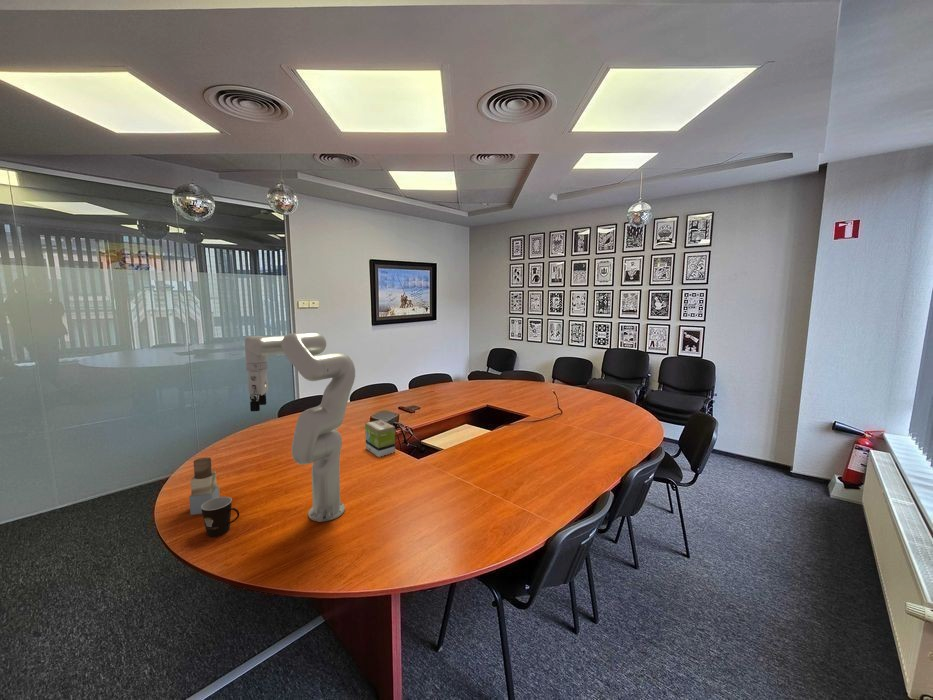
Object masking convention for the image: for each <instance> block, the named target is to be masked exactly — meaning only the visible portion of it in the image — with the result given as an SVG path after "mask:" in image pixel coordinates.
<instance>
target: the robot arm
mask: <svg viewBox="0 0 933 700" xmlns="http://www.w3.org/2000/svg"><path fill="white" fill-rule="evenodd" d="M326 347H327V340H326V338H325V337H324V336H323V335H322V334H320V333H318V332H311V331H310V332H295V333H287V334H285V335H270V336H269V335H268V336H263V335H248V336H246V337H245V338H244V353H245V354H244V355H245V371H246V372H248V375H247V376H248V379H247V380H248V383H247V385H248V395H249V404H250V405H249V406H250V407H249V409H250V412H260V411H261V406H265V405H267V392H268V391H269V384H268V382H269V381H268V374H267V370H268V357H269V356H274V355H275V356H276V355H285V357H286V358H287V360H288V361H289V362H290V363H291V365H292V366H293V367H294V368H295V369H296V371H298V373H299V374H300V375H301V376H302V378H303V379H305V380H306V381H310V382H318V381H323V380H329V379H331V381H330V382H329V383H328V384H327V385H326V387H325V389H324V391H323V394H322V399H321V403H320V404H319V405H317V406H314V407H310V408H308V409H306V410H304V411H302V412H301V413H300V414H299V416H298V418H297V419H296V423H295V428H294V434H293V439H292V441H291V442H292V443H291V456H292V459H293V461H294V462H295V463H296V464H298V465H301V466H302V465H303V466H304V465H309V464H312V466H311V488H312V489H311V490H312V493H311V494H312V495H311V496H312V507H310V509H309V510H308V513H307V515H308V518H309V519H310V520H311V521H314V522H318V523H321V522H322V523H323V522H329V521H333V520H336V519H337V518H339V517H340V516H342V515H343V514H344V512H345V507H346V506H345V504H344V503H343V502H341V487H340V486H341V484H340V483H341V481H340V480H341V479H340V476H341V475H340V473H341V471H340V469H341V468H340V458H341V449H342V444H343V441H342V440H343V439H342V435H341V433H340V432H339V431H338V430H337V429H338V428H339V427H341V426H342V424H343V422H344V418H345V414H346V410H347V406H348V402H349V397H350V393H351V391H352V389H353V385H354V383H355V378H356V368H355V364H354V362H353V360H352V359H351V357H350V356H349V355H347V354H345V353H342V352H330V353H324V354H322V353H323V352H324V351H325V350H326Z"/></svg>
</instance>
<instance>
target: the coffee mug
mask: <svg viewBox="0 0 933 700" xmlns="http://www.w3.org/2000/svg"><path fill="white" fill-rule="evenodd" d="M232 505H233V498H232V497H229V496H220V497H218V498H214V499H211V500H208V501H206V502H205V503H203V504H202V505H201V510H202V514H201V515H202V518H203V522H204V527H205V532H206V536H207V537H208V538H217V537H220V536H224V535H225V534H227V533H228V532H229V531H230V529H231V524H233V522H236V521H237V520H238V519H239V517H240V512H239V510H238V509H237V508H235V507H232ZM232 511H234V512H236V517H235V518H233V520H231V517H232Z"/></svg>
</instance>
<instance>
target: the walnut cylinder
mask: <svg viewBox="0 0 933 700" xmlns="http://www.w3.org/2000/svg"><path fill="white" fill-rule="evenodd" d="M212 470H213V469H212V458H211V457H208V456H206V457H200V458H197V459H194V460H193V471H194V473H193V477H195V479H203V478H207V477H209V476H211V475H212V472H213V471H212Z"/></svg>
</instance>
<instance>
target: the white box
mask: <svg viewBox="0 0 933 700" xmlns="http://www.w3.org/2000/svg"><path fill="white" fill-rule="evenodd" d="M218 497H221V496H220V486H219V485H217V487H216V488H215V489H214V490H213V492H212V493H211V494H205V495H196V496H192V495H191V494H190V496H189V510H190V511H189V513H190V516H193V515H202V510H201V505H202V504H203V503H205V502H206V501H208V500H211V499H214V498H218Z"/></svg>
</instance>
